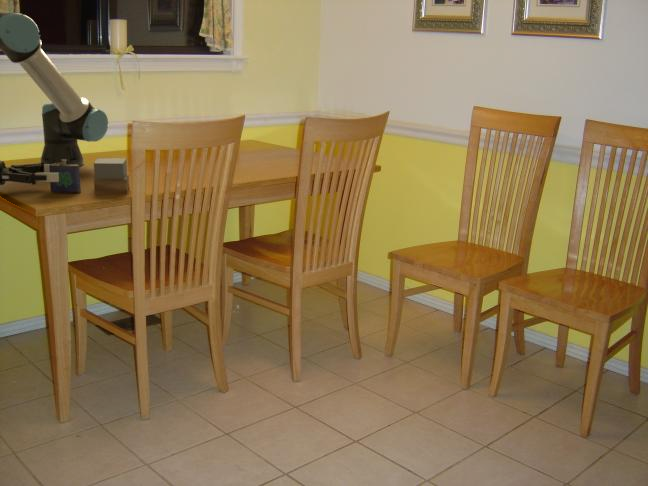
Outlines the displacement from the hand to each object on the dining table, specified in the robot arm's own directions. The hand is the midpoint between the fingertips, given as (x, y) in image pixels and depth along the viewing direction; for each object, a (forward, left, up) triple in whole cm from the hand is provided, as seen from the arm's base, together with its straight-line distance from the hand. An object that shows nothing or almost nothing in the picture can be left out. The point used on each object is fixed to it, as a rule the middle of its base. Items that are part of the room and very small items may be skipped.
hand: (62, 172), depth 238 cm
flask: (-1, +1, -7) cm, 7 cm away
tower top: (-4, +14, -2) cm, 15 cm away
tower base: (-3, +15, -7) cm, 16 cm away
